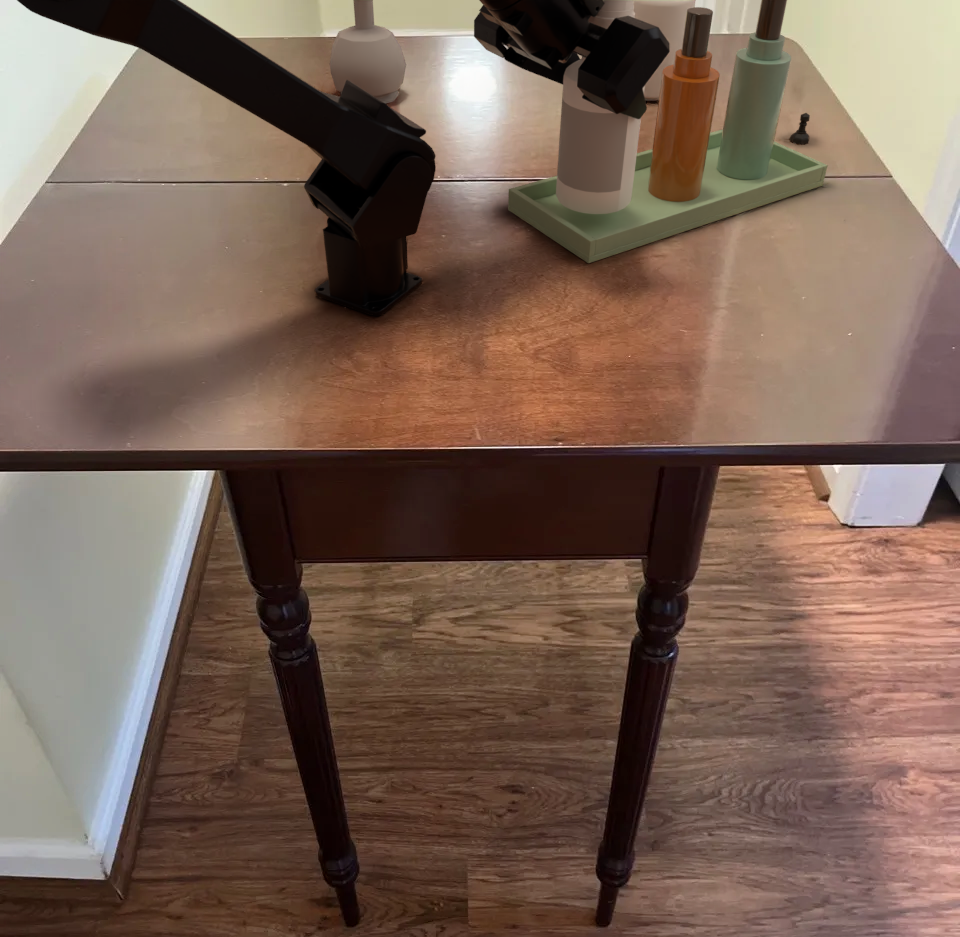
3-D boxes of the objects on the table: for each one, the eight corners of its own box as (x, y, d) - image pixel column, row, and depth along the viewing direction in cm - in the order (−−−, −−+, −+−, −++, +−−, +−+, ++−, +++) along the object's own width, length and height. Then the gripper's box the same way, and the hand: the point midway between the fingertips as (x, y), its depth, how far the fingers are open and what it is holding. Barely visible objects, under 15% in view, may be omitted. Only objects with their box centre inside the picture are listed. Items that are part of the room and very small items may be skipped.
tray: (588, 263, 82) (590, 241, 81) (507, 210, 90) (508, 188, 88) (822, 185, 94) (828, 165, 93) (734, 144, 102) (737, 124, 101)
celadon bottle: (757, 184, 93) (793, 6, 82) (708, 172, 95) (738, -3, 84) (774, 166, 96) (811, -8, 86) (727, 155, 98) (757, -16, 88)
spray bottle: (545, 187, 88) (557, -27, 77) (614, 179, 90) (637, -32, 78) (570, 219, 83) (587, -4, 72) (643, 211, 85) (671, -10, 73)
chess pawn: (813, 140, 103) (819, 112, 101) (803, 146, 102) (809, 117, 100) (796, 135, 104) (803, 107, 102) (786, 140, 103) (792, 112, 101)
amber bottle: (688, 206, 89) (717, 22, 79) (639, 193, 91) (660, 13, 81) (708, 187, 92) (738, 8, 82) (660, 175, 94) (684, -1, 84)
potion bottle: (404, 109, 109) (396, -69, 97) (326, 108, 109) (308, -70, 97) (410, 83, 116) (403, -87, 104) (336, 81, 116) (321, -88, 104)
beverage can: (629, 106, 110) (641, -7, 102) (603, 82, 116) (613, -26, 108) (693, 100, 112) (710, -12, 104) (665, 77, 118) (679, -31, 110)
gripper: (668, -100, 63) (756, 49, 74) (507, -141, 74) (604, -7, 86) (563, 46, 64) (665, 169, 76) (422, -17, 76) (529, 98, 88)
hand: (614, 100), depth 82 cm, fingers closed on spray bottle, 7 cm apart
